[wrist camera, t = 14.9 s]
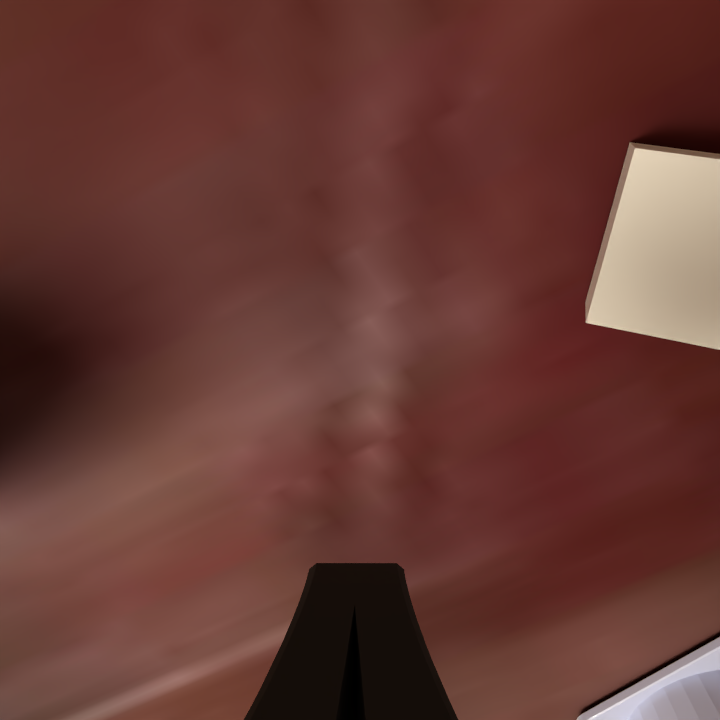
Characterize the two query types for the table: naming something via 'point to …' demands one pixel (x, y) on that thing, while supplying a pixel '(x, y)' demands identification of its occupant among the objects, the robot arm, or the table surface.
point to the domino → (662, 248)
